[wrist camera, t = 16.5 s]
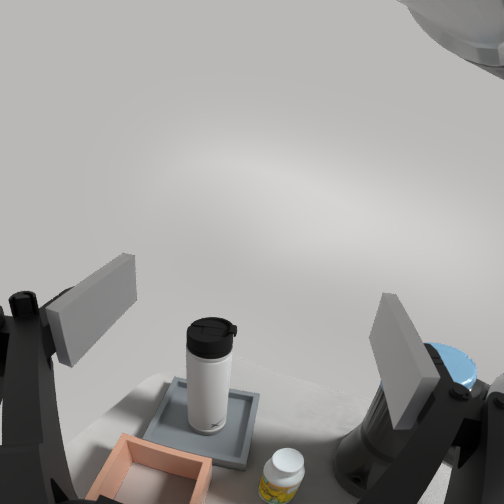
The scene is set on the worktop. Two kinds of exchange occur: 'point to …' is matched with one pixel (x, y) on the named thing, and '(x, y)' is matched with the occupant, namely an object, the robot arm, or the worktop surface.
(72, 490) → the robot arm
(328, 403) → the worktop surface
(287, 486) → the supplement bottle
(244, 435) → the grey tray
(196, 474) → the square planter box
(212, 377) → the travel mug
